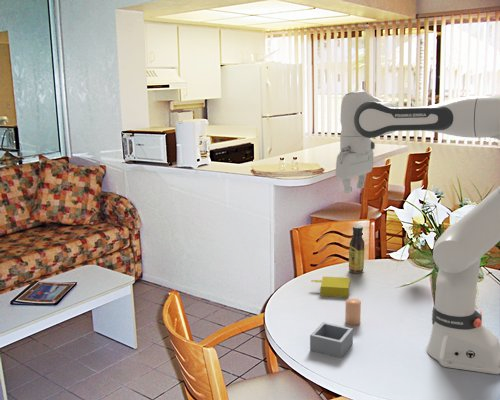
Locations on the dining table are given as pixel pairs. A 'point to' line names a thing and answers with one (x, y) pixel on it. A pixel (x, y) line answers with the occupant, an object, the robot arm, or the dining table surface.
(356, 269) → the sauce bottle
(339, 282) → the yellow box with tab
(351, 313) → the canister
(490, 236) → the robot arm
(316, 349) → the gray open box
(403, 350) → the dining table surface
